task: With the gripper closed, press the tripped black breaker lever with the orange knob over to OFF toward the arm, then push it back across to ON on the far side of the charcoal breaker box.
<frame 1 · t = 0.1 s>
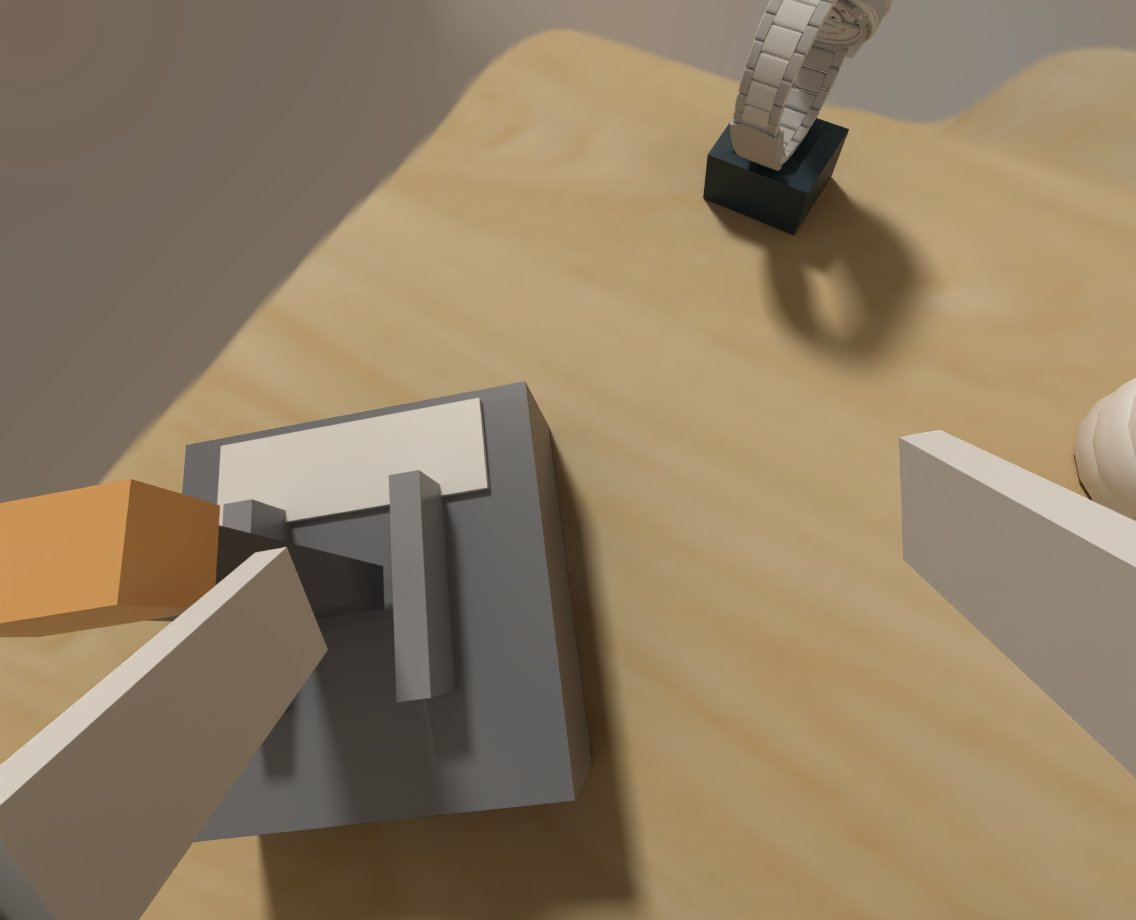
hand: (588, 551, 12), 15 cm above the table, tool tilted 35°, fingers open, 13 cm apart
breaker box: (409, 604, 28), on the table
breaker lever: (228, 582, 16), point 13 cm above the table, hinge at 0.0°
watch: (765, 188, 32), on the table
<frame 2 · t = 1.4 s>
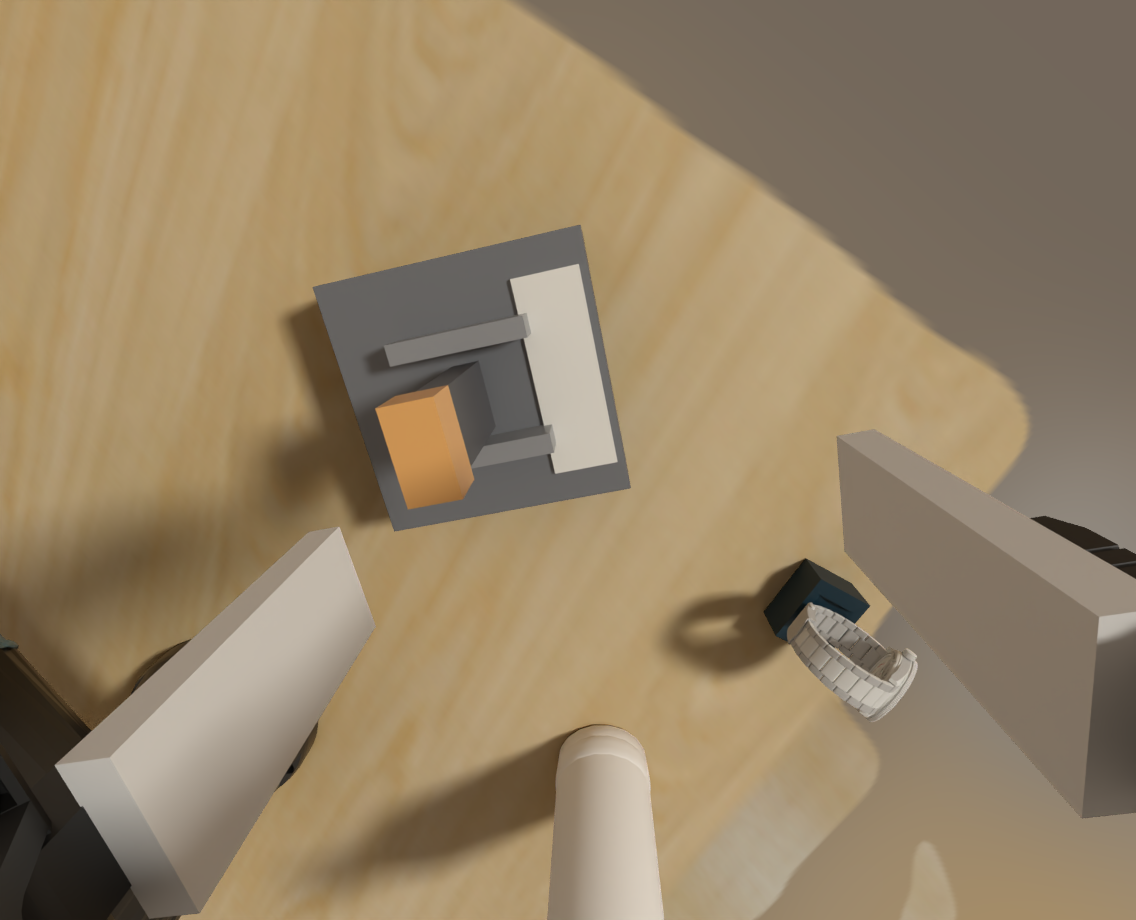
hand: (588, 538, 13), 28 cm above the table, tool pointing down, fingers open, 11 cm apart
breaker box: (493, 376, 40), on the table
breaker lever: (452, 420, 28), point 13 cm above the table, hinge at 0.0°
watch: (807, 596, 45), on the table
bottle: (602, 756, 51), on the table
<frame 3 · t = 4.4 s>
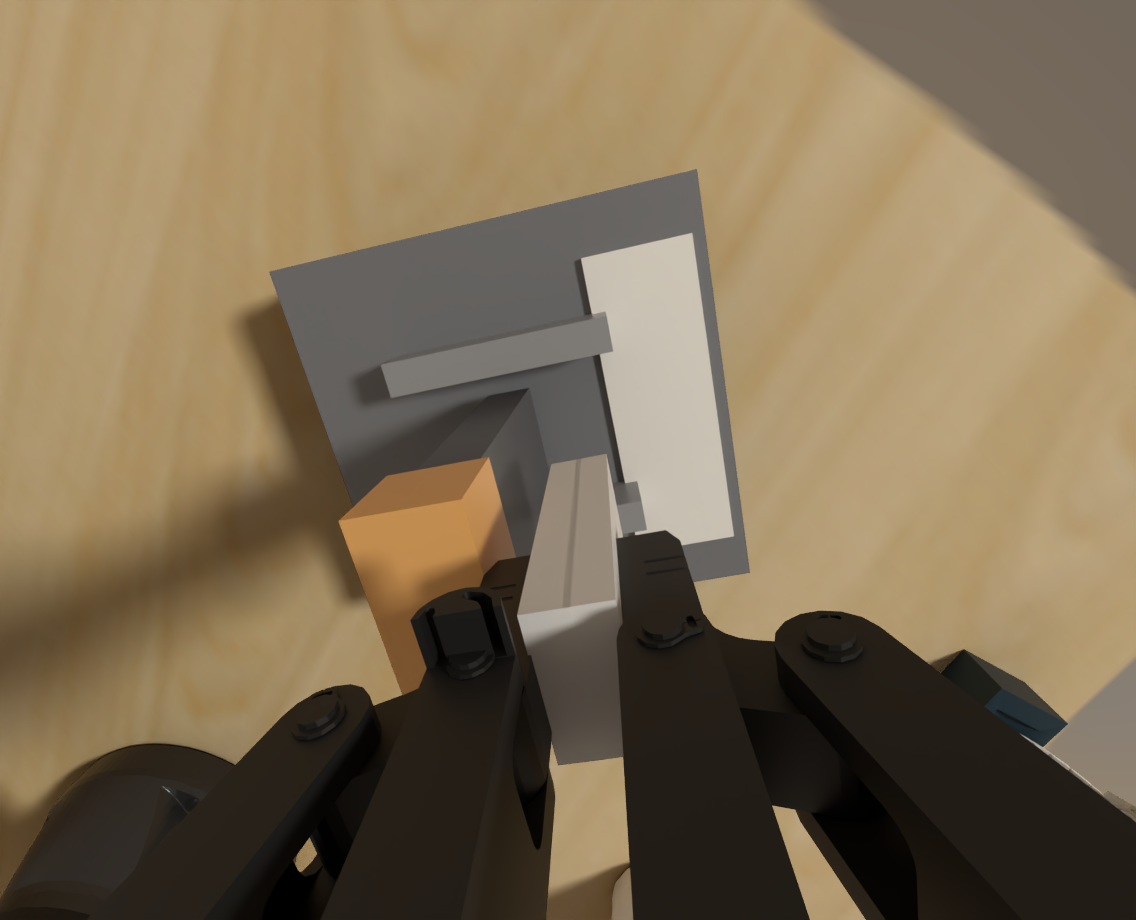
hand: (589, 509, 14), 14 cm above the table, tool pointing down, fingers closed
breaker box: (538, 402, 28), on the table
breaker lever: (491, 500, 16), point 13 cm above the table, hinge at -2.1°, touching gripper
watch: (960, 698, 33), on the table
bottle: (669, 891, 39), on the table
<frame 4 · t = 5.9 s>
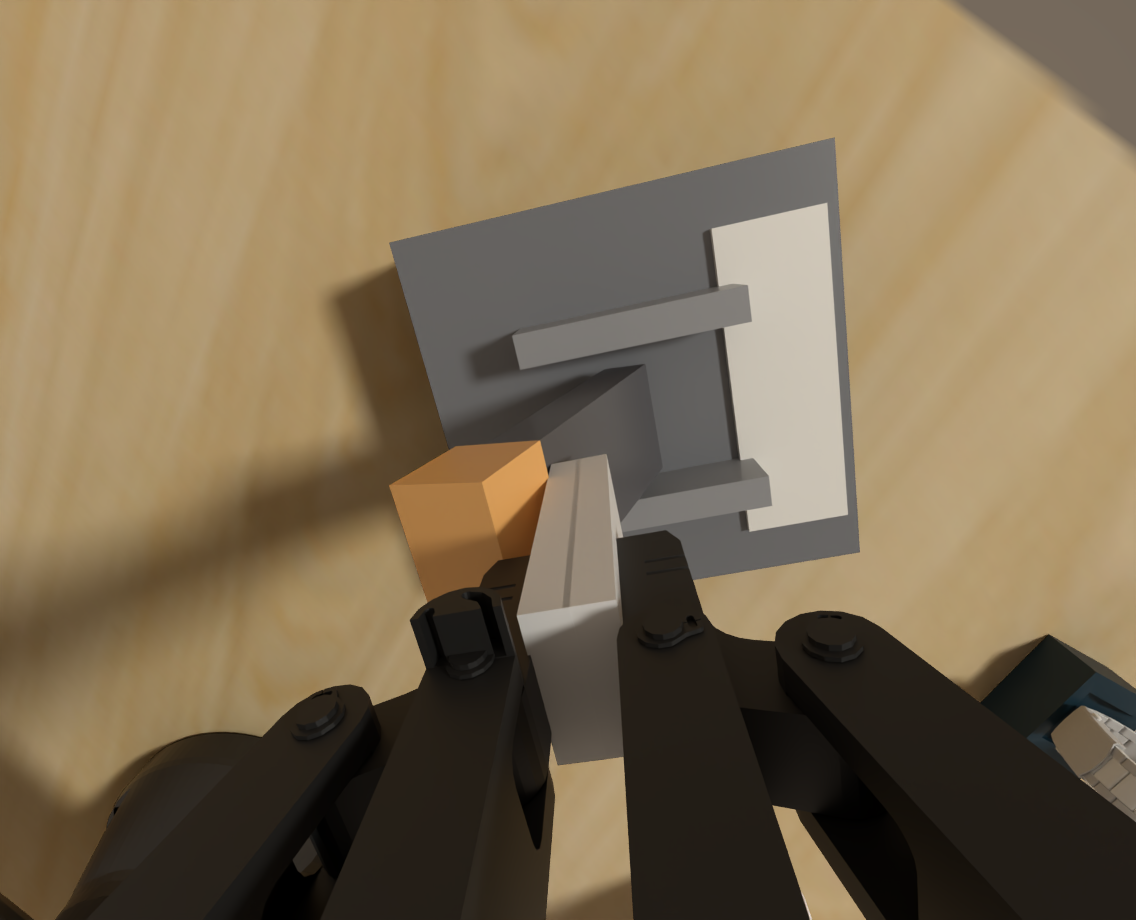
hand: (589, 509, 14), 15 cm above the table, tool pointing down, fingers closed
breaker box: (631, 382, 28), on the table
breaker lever: (571, 476, 17), point 12 cm above the table, hinge at -23.5°, touching gripper
watch: (1041, 683, 33), on the table
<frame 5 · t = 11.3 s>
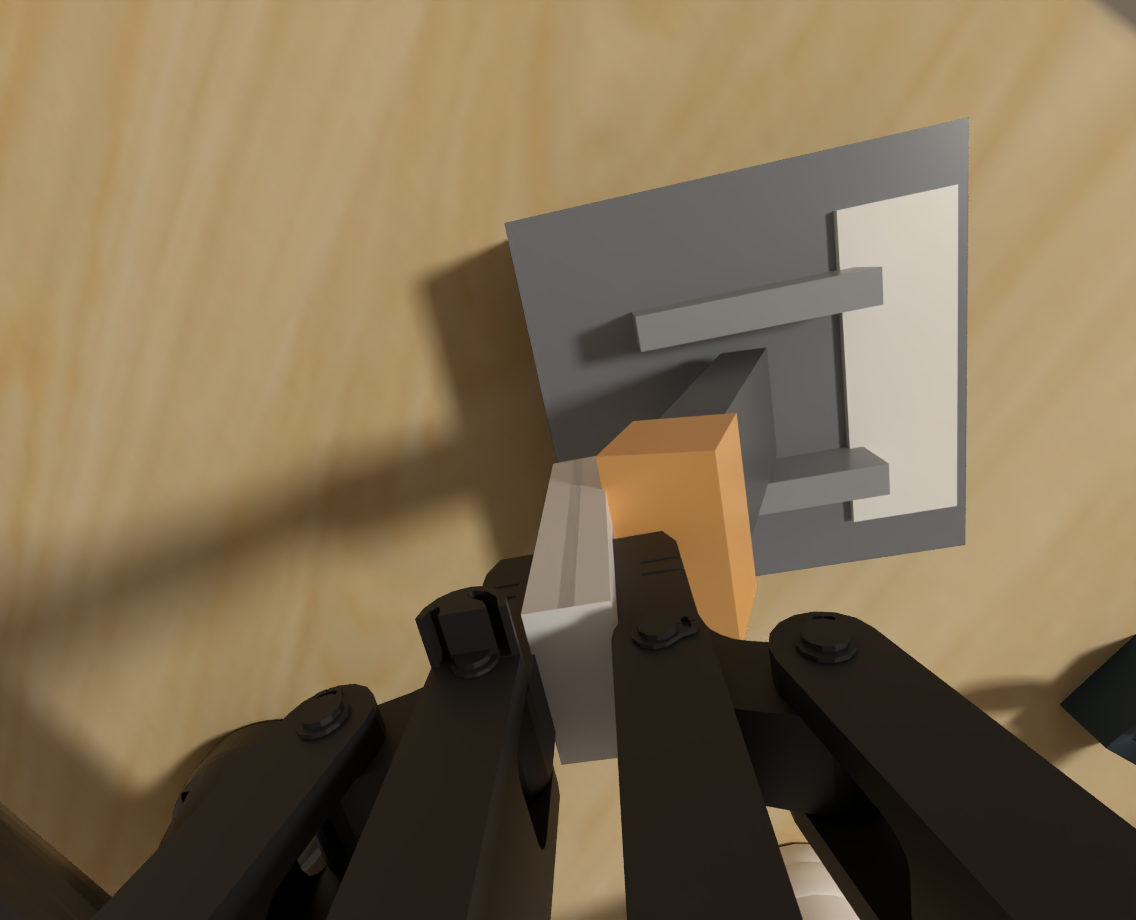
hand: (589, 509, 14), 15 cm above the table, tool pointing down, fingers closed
breaker box: (721, 370, 28), on the table
breaker lever: (720, 457, 16), point 12 cm above the table, hinge at -21.8°, touching gripper
watch: (1125, 685, 32), on the table
bottle: (798, 881, 38), on the table
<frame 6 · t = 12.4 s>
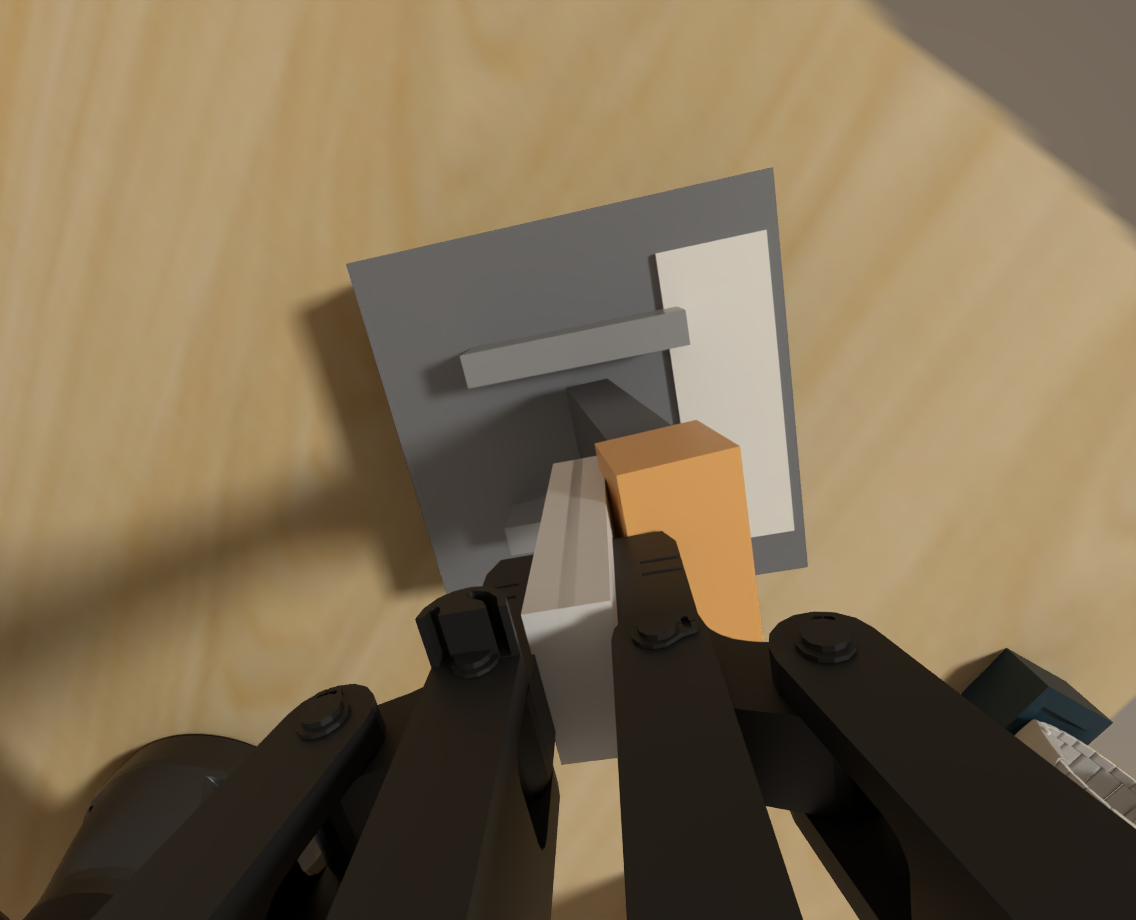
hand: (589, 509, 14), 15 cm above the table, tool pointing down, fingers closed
breaker box: (592, 397, 29), on the table
breaker lever: (629, 478, 17), point 13 cm above the table, hinge at 10.0°, touching gripper
watch: (1001, 696, 33), on the table
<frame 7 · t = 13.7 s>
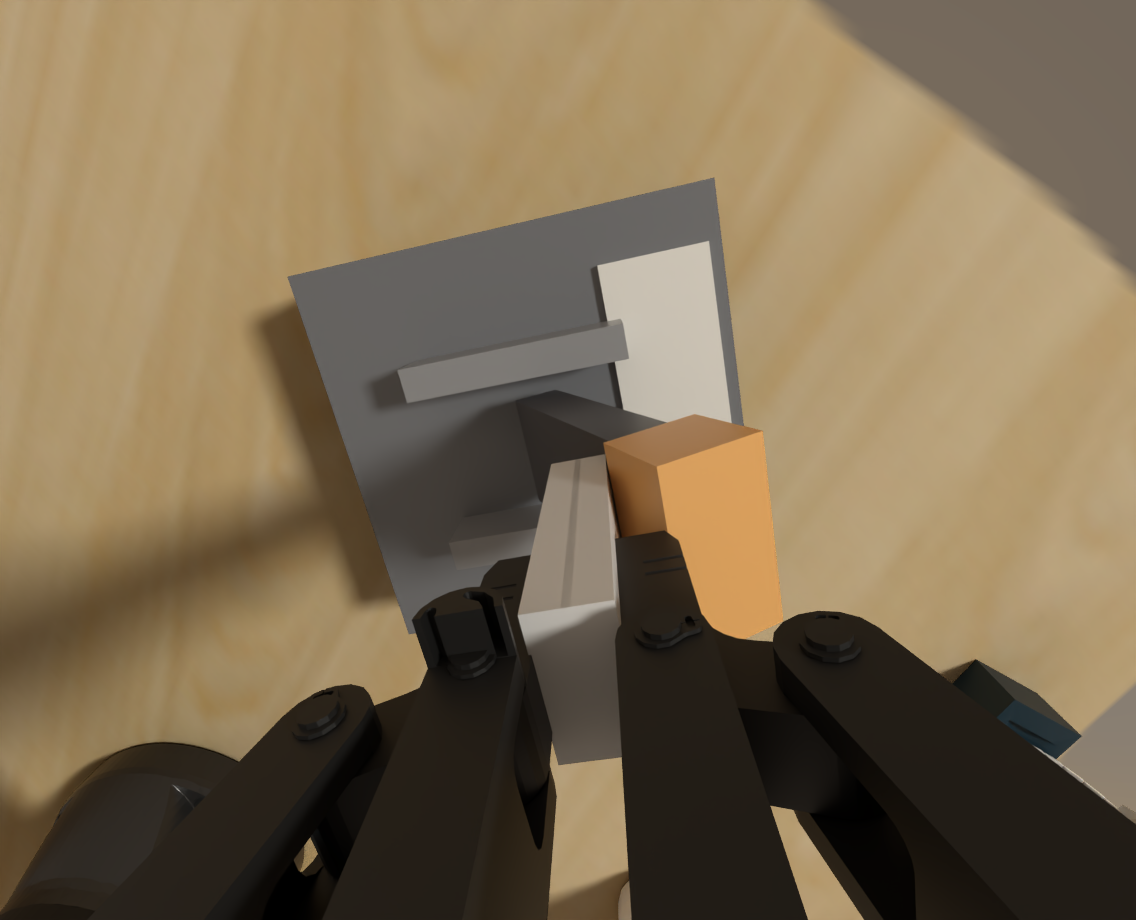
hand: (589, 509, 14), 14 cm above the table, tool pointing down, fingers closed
breaker box: (551, 407, 28), on the table
breaker lever: (608, 482, 17), point 12 cm above the table, hinge at 24.3°, touching gripper
watch: (972, 708, 33), on the table
bottle: (675, 898, 39), on the table
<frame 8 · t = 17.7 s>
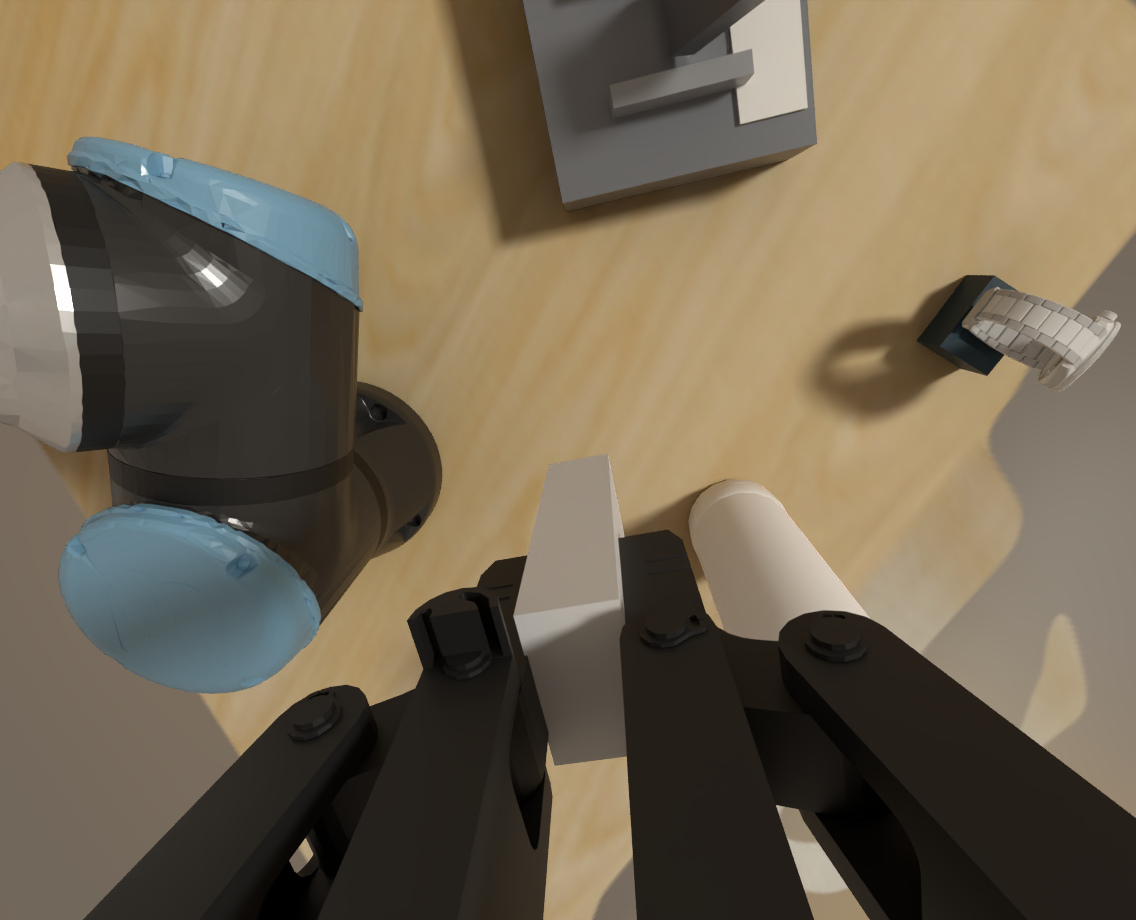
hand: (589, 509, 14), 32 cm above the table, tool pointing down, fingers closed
breaker box: (657, 59, 39), on the table
watch: (963, 322, 44), on the table
bottle: (732, 519, 49), on the table
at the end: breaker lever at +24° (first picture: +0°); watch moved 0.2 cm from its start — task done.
